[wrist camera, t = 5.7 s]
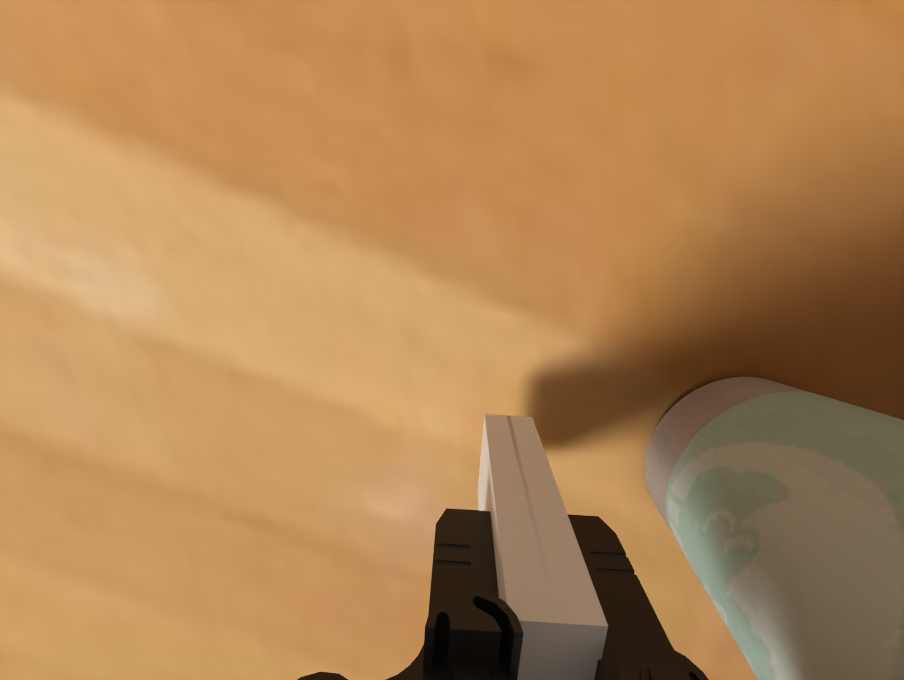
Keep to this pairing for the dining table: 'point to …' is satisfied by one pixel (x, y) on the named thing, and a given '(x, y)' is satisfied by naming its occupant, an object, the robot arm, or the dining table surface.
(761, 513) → the coffee cup
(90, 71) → the dining table surface
